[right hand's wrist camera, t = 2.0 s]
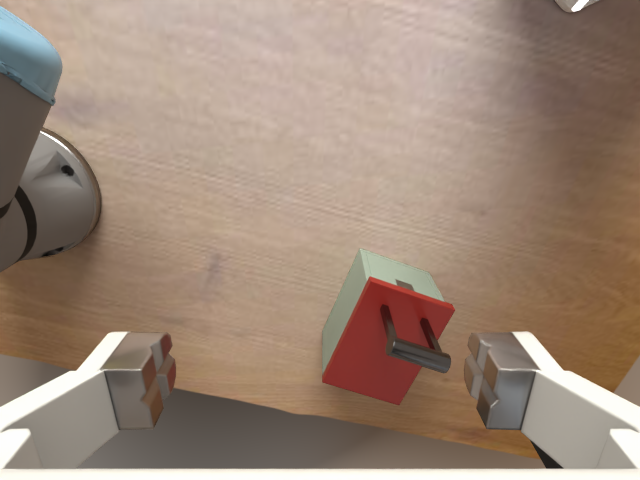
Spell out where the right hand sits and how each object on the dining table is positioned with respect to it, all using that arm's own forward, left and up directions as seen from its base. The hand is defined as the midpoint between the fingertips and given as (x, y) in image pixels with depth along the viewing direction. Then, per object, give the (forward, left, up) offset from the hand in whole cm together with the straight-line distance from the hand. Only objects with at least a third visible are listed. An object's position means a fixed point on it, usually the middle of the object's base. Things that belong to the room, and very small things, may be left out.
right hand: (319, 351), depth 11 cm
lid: (-2, +21, -27) cm, 34 cm away
